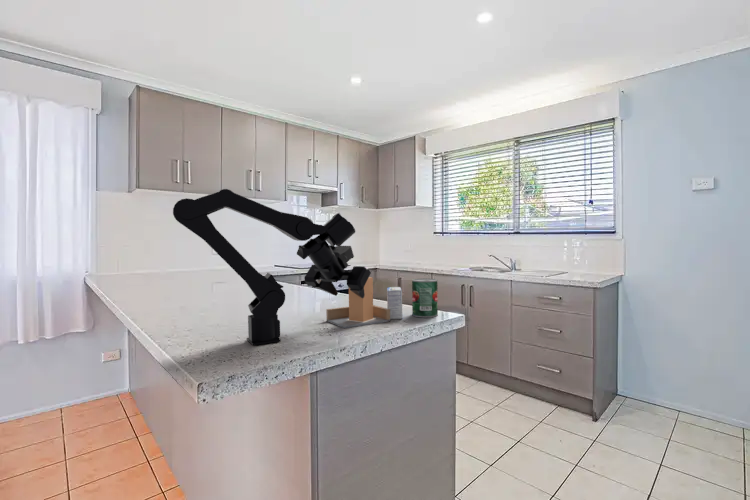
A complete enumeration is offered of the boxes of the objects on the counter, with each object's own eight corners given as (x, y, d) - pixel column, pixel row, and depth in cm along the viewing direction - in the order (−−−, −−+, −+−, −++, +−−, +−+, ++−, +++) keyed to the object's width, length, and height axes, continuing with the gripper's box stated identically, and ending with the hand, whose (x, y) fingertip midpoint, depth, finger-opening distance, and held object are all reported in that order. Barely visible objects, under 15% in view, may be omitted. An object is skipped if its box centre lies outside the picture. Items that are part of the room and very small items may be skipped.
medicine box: (402, 319, 119) (402, 290, 118) (387, 319, 119) (387, 290, 118) (401, 314, 127) (401, 286, 126) (387, 314, 127) (386, 286, 126)
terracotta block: (363, 321, 112) (362, 279, 112) (349, 319, 115) (348, 278, 115) (373, 318, 117) (372, 277, 116) (359, 316, 119) (358, 276, 119)
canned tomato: (407, 314, 127) (407, 279, 126) (429, 311, 130) (429, 277, 129) (420, 318, 119) (419, 281, 119) (442, 316, 122) (442, 280, 122)
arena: (343, 328, 108) (343, 315, 108) (326, 321, 117) (326, 309, 117) (390, 321, 116) (390, 309, 116) (370, 315, 125) (370, 304, 125)
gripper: (366, 235, 101) (389, 275, 111) (310, 235, 112) (336, 272, 121) (348, 268, 95) (373, 307, 105) (290, 265, 105) (319, 301, 115)
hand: (349, 295), depth 112 cm, fingers open, 9 cm apart
